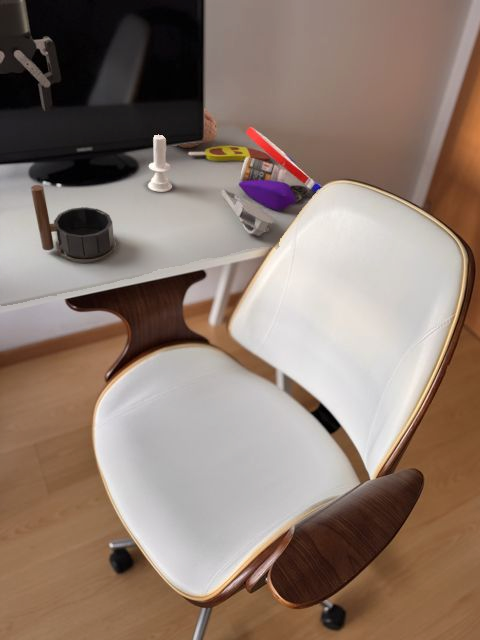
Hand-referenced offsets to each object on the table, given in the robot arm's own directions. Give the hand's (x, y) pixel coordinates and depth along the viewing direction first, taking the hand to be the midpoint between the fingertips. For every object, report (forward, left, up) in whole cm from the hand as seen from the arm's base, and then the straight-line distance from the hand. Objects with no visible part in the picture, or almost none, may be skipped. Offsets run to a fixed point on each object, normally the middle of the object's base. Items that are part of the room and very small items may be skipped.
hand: (18, 111), depth 87 cm
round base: (+7, -5, -24) cm, 25 cm away
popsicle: (+39, +26, -23) cm, 52 cm away
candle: (+28, +14, -24) cm, 39 cm away
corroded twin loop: (+57, +3, -24) cm, 62 cm away
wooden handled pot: (+6, -5, -23) cm, 24 cm away
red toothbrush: (+58, +12, -21) cm, 63 cm away
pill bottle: (+47, +12, -20) cm, 52 cm away
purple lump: (+44, +9, -22) cm, 50 cm away
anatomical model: (+38, +40, -26) cm, 61 cm away
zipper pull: (+42, -3, -20) cm, 46 cm away
